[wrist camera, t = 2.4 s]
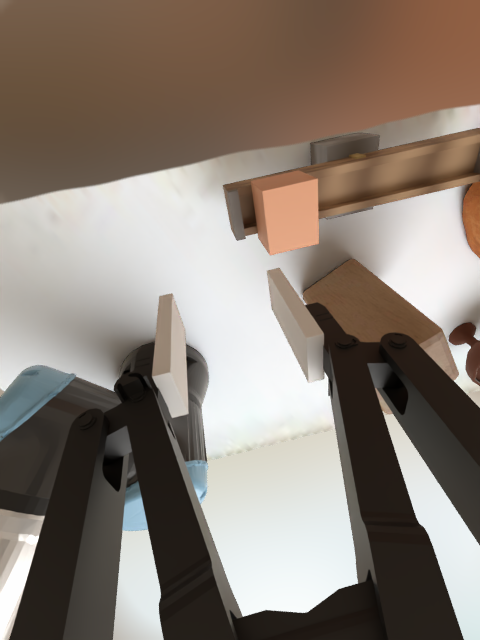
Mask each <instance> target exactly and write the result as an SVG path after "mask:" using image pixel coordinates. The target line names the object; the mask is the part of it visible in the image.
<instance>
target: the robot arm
mask: <svg viewBox="0 0 480 640" xmlns="http://www.w3.org/2000/svg"><path fill="white" fill-rule="evenodd" d="M267 275H268V283H269V291H270V298H271V306H272V310H273V312H274V314H275V316H276V318H277V320H278V322H279V324H280V326H281V328H282V330H283V332H284V334H285V336H286V338H287V340H288V342H289V344H290V346H291V348H292V350H293V352H294V354H295V356H296V358H297V360H298V362H299V364H300V366H301V369H302V371H303V373H304V375H305V377H306V379H307V381H308V383H310V382H314V381H318V380H322V379H324V371H325V373H326V374H327V376H328V396H330V397H331V404H332V410H333V416H334V422H335V429H336V435H337V440H338V447H339V454H340V460H341V466H342V472H343V478H344V485H345V491H346V497H347V504H348V510H349V516H350V522H351V529H352V535H353V541H354V547H355V555H356V568H357V578H358V584H355V585H352V586H348V587H344V588H341V589H338V590H337V591H336V592H335V593H333V594H332V595H330V596H329V597H328V598H326V599H325V600H324V601H322V602H321V603H320V604H318V605H317V606H316V607H314V608H313V609H312V610H310V611H309V612H307V613H295V612H294V613H293V612H283V611H282V612H281V611H270V610H265V611H262V612H258V613H255V614H251V615H248V616H244V617H243V616H242V614H241V611H240V609H239V606H238V604H237V602H236V599H235V597H234V595H233V593H232V590H231V588H230V585H229V582H228V580H227V577H226V574H225V571H224V569H223V566H222V563H221V560H220V558H219V555H218V552H217V550H216V547H215V544H214V541H213V538H212V535H211V533H210V530H209V527H208V524H207V522H206V519H205V516H204V514H203V511H202V508H201V505H200V504H201V503H202V502H203V500H204V498H205V496H206V492H207V470H208V465H207V457H206V448H205V438H204V429H203V419H202V410H201V407H202V403H203V400H204V397H205V394H206V391H207V387H208V383H209V374H208V367H207V364H206V361H205V359H204V358H203V357H202V355H201V354H200V353H199V352H197V351H196V350H195V349H193V348H191V347H189V346H187V345H186V338H185V328H184V325H183V322H182V320H181V317H180V314H179V311H178V308H177V305H176V303H175V300H174V297H173V294H167V295H163V296H159V306H158V317H157V327H156V338H155V342H154V343H149V344H146V345H143V346H141V347H139V348H137V349H136V350H134V351H133V352H132V353H130V354H129V355H128V356H127V357H126V359H125V360H124V362H123V364H122V367H121V371H120V375H119V379H118V380H117V382H116V383H115V385H114V391H115V392H113V391H111V390H108V389H106V388H103V387H101V386H98V385H96V384H93V383H91V382H88V381H86V380H83V379H81V378H78V377H76V375H75V374H73V373H72V374H68V373H65V372H62V371H59V370H56V369H53V368H50V367H47V366H43V365H36V366H31V367H29V368H27V369H25V370H23V371H22V372H21V373H20V374H19V375H18V376H17V378H16V379H15V380H14V381H13V382H12V383H11V385H10V386H9V387H8V388H7V389H6V391H5V392H4V393H3V394H2V395H1V397H0V640H8V639H9V636H10V634H11V636H10V639H9V640H113V630H114V619H115V606H116V595H117V585H118V573H119V562H120V550H121V539H122V530H125V531H139V530H148V531H149V536H150V540H151V545H152V550H153V555H154V560H155V565H156V569H157V574H158V579H159V584H160V589H161V599H160V602H159V614H160V622H161V627H162V633H163V638H164V640H464V639H463V636H462V633H461V630H460V627H459V624H458V621H457V618H456V615H455V612H454V609H453V606H452V603H451V600H450V597H449V594H448V591H447V588H446V585H445V582H444V579H443V576H442V573H441V570H440V567H439V564H438V561H437V558H436V555H435V552H434V549H433V546H432V543H431V541H430V538H429V536H428V534H427V532H426V530H425V528H424V527H423V526H421V525H420V524H419V523H418V521H417V518H416V516H415V513H414V510H413V507H412V503H411V500H410V497H409V494H408V491H407V488H406V484H405V481H404V478H403V475H402V472H401V469H400V466H399V463H398V459H397V456H396V453H395V450H394V446H393V444H392V440H391V437H390V434H389V431H388V428H387V425H386V422H385V418H384V415H383V412H382V409H381V405H380V402H379V399H378V396H377V393H376V390H375V388H376V389H377V390H378V392H379V393H380V395H381V396H382V398H383V399H384V401H385V402H386V404H387V405H388V407H389V408H390V410H391V411H392V413H393V414H394V416H395V417H396V419H397V420H398V422H399V424H400V425H401V427H402V428H403V430H404V431H405V433H406V434H407V436H408V437H409V439H410V440H411V442H412V443H413V445H414V446H415V448H416V449H417V451H418V452H419V454H420V455H421V457H422V458H423V460H424V461H425V463H426V464H427V466H428V467H429V469H430V471H431V472H432V474H433V475H434V477H435V478H436V480H437V481H438V483H439V484H440V485H441V487H442V489H443V490H444V492H445V493H446V495H447V496H448V498H449V499H450V501H451V502H452V504H453V505H454V507H455V508H456V510H457V511H458V513H459V514H460V516H461V518H462V519H463V521H464V522H465V524H466V525H467V526H468V528H469V530H470V531H471V533H472V534H473V536H474V537H475V539H476V540H477V542H478V543H479V545H480V408H479V407H478V406H477V405H476V404H475V403H474V402H473V401H472V400H471V398H470V397H469V396H468V395H467V394H466V393H465V392H464V391H463V390H462V389H461V388H460V387H459V386H458V385H457V384H456V383H455V382H454V381H453V380H452V379H451V378H450V377H449V376H448V375H447V374H446V373H445V372H444V370H443V369H442V368H441V367H440V366H439V365H438V364H437V363H436V362H435V361H434V360H433V359H432V358H431V357H430V356H429V355H428V354H427V353H426V352H425V351H424V350H423V349H422V348H421V347H420V346H419V345H418V344H417V342H416V341H415V340H414V339H412V338H411V337H410V336H408V335H406V334H403V333H397V332H393V333H387V334H385V335H383V336H382V337H381V340H380V342H361V341H359V339H358V338H356V337H355V336H353V335H350V334H346V332H345V331H344V330H343V329H342V327H341V326H340V325H339V324H338V322H337V321H336V320H335V318H333V316H332V315H331V313H330V312H329V311H328V309H327V308H326V307H325V306H323V305H322V304H320V303H318V302H316V303H312V304H308V305H304V304H303V302H302V301H301V299H300V298H299V296H298V295H297V293H296V292H295V290H294V289H293V287H292V286H291V284H290V283H289V281H288V280H287V278H286V277H285V275H284V274H283V273H282V271H281V270H280V268H276V269H272V270H268V271H267Z"/></svg>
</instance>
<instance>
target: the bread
mask: <svg viewBox="0 0 480 640" xmlns="http://www.w3.org/2000/svg"><path fill="white" fill-rule="evenodd" d="M462 217H463V223H464V227H465V230H466V236H467V241H468V243H469V246H470V248H471V249H472V251H473V252H474V253H475V254H476V255H477V256H478V257H479V258H480V182H475V183H473V184H472V185H471V187H470V188H469V190H468V192H467V193H466V195H465V197H464V200H463V213H462Z"/></svg>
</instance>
